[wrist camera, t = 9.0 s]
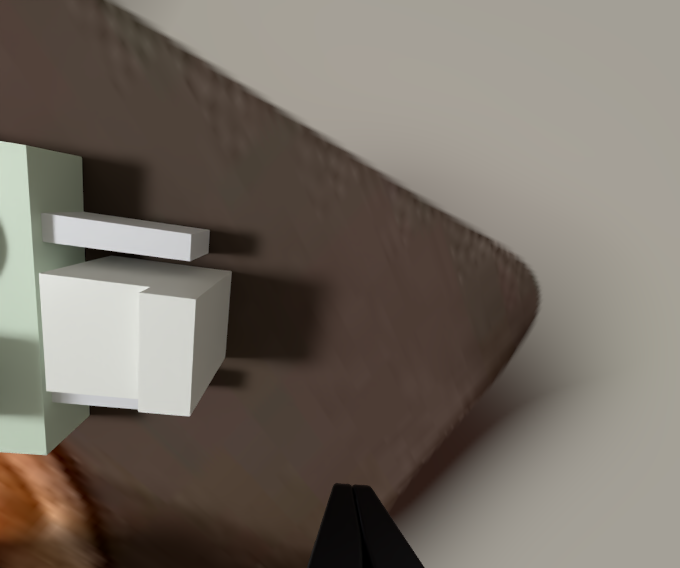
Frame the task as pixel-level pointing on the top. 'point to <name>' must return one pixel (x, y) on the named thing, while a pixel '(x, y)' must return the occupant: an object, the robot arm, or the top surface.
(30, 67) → the top surface
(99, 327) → the white lidded box
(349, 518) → the robot arm
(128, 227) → the green block with prongs
